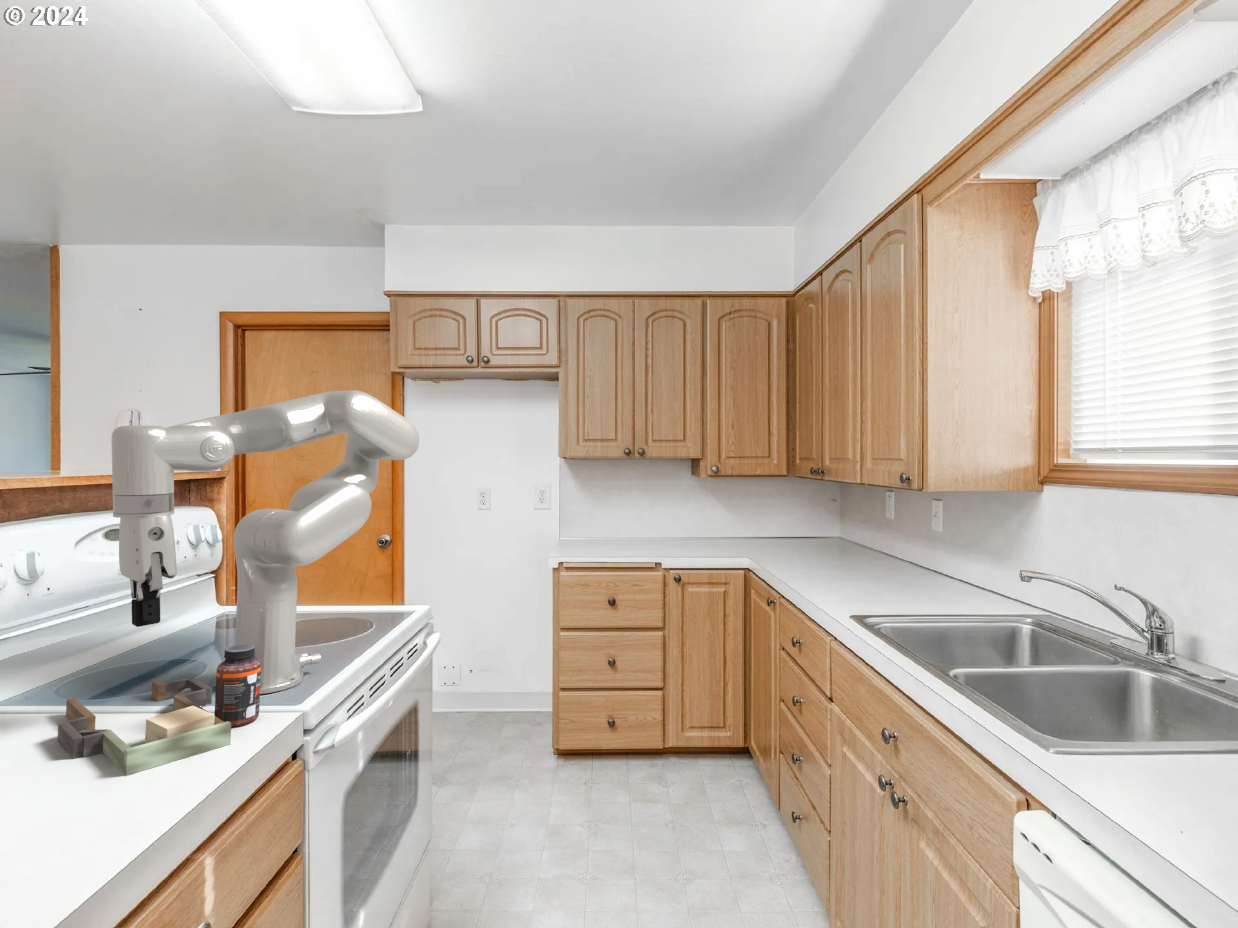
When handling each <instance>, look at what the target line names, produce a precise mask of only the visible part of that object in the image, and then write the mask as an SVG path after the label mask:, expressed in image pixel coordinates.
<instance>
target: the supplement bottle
mask: <svg viewBox="0 0 1238 928" xmlns="http://www.w3.org/2000/svg"><path fill="white" fill-rule="evenodd" d="M223 654H224V655H223V658H224V661H221V662H220V663H219V664H218V666H217V667H216V671H215V672H216V674H215V675H216V676H215V693H214V695H215V696H214V715H215V717H217V718H219V719H220V720H222V721H223V722H227V721H229V722H230V723H231V728H234V727H235V728H236V727H240V726H245V725H247V724H250V723H253V722H255V720H256V719H257V718H258V717H259V715H260V701H261V700H260V698H261V694H260V680H261V679H260V678H261V662H260V661H259V660H258V659H256V658H255V656H254V654H255V647H254V646H253V645H236V646H235V645H233V646H231V645H230V646H228V647H226V648H225V649H224V653H223Z"/></svg>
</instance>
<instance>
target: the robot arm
mask: <svg viewBox="0 0 1238 928" xmlns="http://www.w3.org/2000/svg"><path fill="white" fill-rule="evenodd" d="M340 434H341V435H343V434H345V435H347V437H346V443H345V454H344V458H343V459H342V461H341V463H339V464H338V465H337V466H335V467H333V468H332V469H331V470H329V471H328V472H326V473H324V474H323V475H321V476H319V477H317V478H316V479H314V480H312V481H310V482H309V483H307V484H306V485H303V486H302V487H301V488H299V489H298V490H297V491H296V492H295V493H294V495H293V496H292V497H291V499H290V503H289V509H288V510H287V509H279V508H260V509H256V510H253V511H251V512H249V513H247V514H245V515H244V516H243V517H242V518H241V519H240V520H239V522H238V523H237V524H236V527H235V528H234V532H233V551H234V557H235V561H236V571H237V573H236V574H237V578H236V579H237V587H236V589H237V590H236V594H237V595H236V609H235V610H236V611H235V613H236V614H235V634H234V635H235V637H234V638H235V639H234V643H235V644H234V646H236V645H253V646H254V647H255V654H254V656H255V658H256V659H258V660H259V661H260V662H261V678H260V679H261V680H260V695H264V694H265V695H266V694H271V693H277V692H279V691H283V690H288V689H291V688H293V687H295V686H298V684H300V683H301V682H302V681H303V679H304V672H303V670H302V669H304V668H305V666H313V665H317V664H319V663H321V661H322V656H321V654H320V652H316V653H315V652H314V653H311V654H307V652H303V653H296V652H295V651H296V631H297V630H296V628H297V627H296V626H297V624H296V623H297V603H298V601H297V600H298V577H297V571H296V568H295V567H302V566H307V565H310V564H313V563H314V562H316V561H318V560H320V559H321V558H323V557H324V556H325V555H326V554H328V553H330V552H331V551H332V550H334V549H335V548H336V547H338V546H339V545H341V544H342V543H343V542H345V541H347V540H348V539H349V538H351V537H352V536H353V535H355V534H356V533H357V532H359V530H360V529H362V527H364V525H365V524H366V522H367V521H368V520H369V517H370V515H371V511H372V499H371V496H370V494H372V493H373V492H374V490H375V489H376V486H377V484H378V480H379V479H378V478H379V477H378V476H379V470H380V469H379V464H380V463H379V461H381V460H383V461H402V460H403V461H404V460H406V459H408V458H409V459H410V458H411V457H413V456H414V454H415V453H416V452H417V451H418V448H419V445H420V435H419V432H418V430H417V428H416V426H415V425H414V424H413V423H412V422H411V421H410V420H409V419H407V418H406V417H404V416H403V415H402V414H400V413H399V412H397V411H395V410H394V409H393V408H391V407H389V406H388V405H387V404H385V403H384V402H383V401H380V400H379V399H377V398H376V397H374V396H372V395H371V394H369V393H368V392H367V393H366V392H365V391H362V390H357V389H353V390H333V391H331V390H330V391H325V392H319V393H316V394H312V395H306V396H303V397H297V398H295V399H294V398H293V399H290V400H284V401H281V402H275V403H272V404H270V403H269V404H268V405H261V406H257V407H252V408H248V409H244V410H240V411H236V412H231V413H225V414H220V415H216V416H210V417H207V418H202V419H196V420H193V421H189V422H183V423H180V424H175V425H171V426H168V427H165V426H161V425H120V426H117V427H116V428H114V430H113V431H112V434H111V471H112V472H111V474H112V475H111V476H112V478H111V479H112V480H111V481H112V517H113V518H118V519H119V520H120V521H119V528H118V529H119V533H118V535H119V536H118V538H119V539H118V560H119V561H118V562H119V572H120V574H121V575H122V577H125V578H128V579H129V582H130V596H131V624H132V625H133V626H135V627H136V628H137V627H138V628H139V627H145V626H151V625H155V624H159V623H160V622H161V591H162V590H163V588H164V587H163V577H164V578H167V579H171V580H172V579H174V578H175V577H176V576H177V574H178V573H177V572H178V570H177V567H178V566H177V556H176V554H177V553H176V542H175V532H174V525H173V520H172V516H173V515H174V514H175V493H174V492H175V477H174V476H175V475H174V474H175V473H174V472H175V471H178V472H179V471H181V472H182V471H185V472H196V473H197V472H199V473H207V472H213V471H214V472H215V471H216V470H220V469H223V468H224V467H225V466H227V465H228V464H229V463H230V462H231V461H232V459H233V458H234V456H236V455H242V454H252V453H267V452H268V453H271V452H277V451H283V450H287V449H291V448H294V447H298V446H300V445H303V444H307V443H310V442H315V441H317V440H322V439H324V438H328V437H331V436H335V435H340Z"/></svg>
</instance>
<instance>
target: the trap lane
mask: <svg viewBox="0 0 1238 928" xmlns="http://www.w3.org/2000/svg"><path fill="white" fill-rule="evenodd" d="M212 694H213V688H212V687H211V686H209V685H207V684H205V683H204V682H202V681H200V680H199V679H197V678H195V677H190V678H189V677H188V678H186V677H185V678H180V679H176V680H171V681H167V682H162V681H161V680H154V681H152V682H151V698H153V699H154V700H155V701H157V702H160V701H163V700H168V699H172V698H173V705H172V706H173V707H172V711H176V710H179V709H183V708H187V707H190V706H195V707H197V708H200V709H202V710H204V711H207V710H206V709H204V708H203V707H200V706H204V707H206V706H208V705H210V704H211V705H212V700H213V699H212V698H213V695H212ZM65 704H66V705H65V706H66V707H65V710H66V711H65V717H66V718H67V719H68V720H66V721H65V722H59V723H58V724H57V725H58V726H57V743H58V744H59V745H60V746H61V748H63V749H64V751H66V753H67V754H68V755H69V756H70V757H71V758H72V759H73V760H74V759H77V758H80V757H83V758H86V757H90V756H94V755H97V754H102V753H103V754H104V755H105V756H106V757H107V758H108V759H109V761H111V762H112V763H113V764H114V765H115V766H116V767H117V769H119V770H120V771H121V772H122V773H123V774H124V775H125V776H130V775H132V774H137V773H140V772H142V771H146V770H149V769H153V768H155V767H159V766H162V765H165V764H168V763H169V764H170V763H172V762H176V761H179V760H182V759H185V758H189V757H193V756H195V755H199V754H202V753H206V752H209V751H212V750H216V749H219V748H222V747H225V746H228V745H231V737H232V736H231V734H232V727H231V723H230V722H229V721H227V722H223V721H222V720H220V719H219V718H217V717H215V720H214V725H212V726H208V727H205V728H201V729H197V730H194V731H190V732H186V733H183V734H179V735H175V736H172V737H168V738H164V739H161V740H157V741H153V742H150V743H146V744H145V743H143V744H140V745H135V746H133V747H130V745H129V744H127V743H126V742H125V741H124V740H122V738H121V737H119V736H118V735H117V733H115V732H114V731H113V730H112V729H104V728H103V729H96V718H97V717H96V715H95V714H93V713H92V711H90V709H88V708H87V707H86V706H85V705H84V704H83V703H81V702H80V701H79V700H78V699H77V698H76V697H72V698H68V699H66V703H65ZM205 705H206V706H205ZM207 712H209V711H207Z"/></svg>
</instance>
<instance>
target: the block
mask: <svg viewBox="0 0 1238 928" xmlns="http://www.w3.org/2000/svg"><path fill="white" fill-rule="evenodd" d="M214 720H215V713H212V712H209V711H208V712H207V710H206V711H204V710H202V709H200V708H197V707H195V706H190V707H187V708H183V709H179V710H176V711H173V710H172V711H170V712H166V713H162V714H159V715H155V716H152V717H149V718H146V719H145V732H144V733H145V735H144V736H145V737H144V744H146V743H150V742H153V741H157V740H161V739H164V738H168V737H172V736H175V735H179V734H183V733H186V732H190V731H194V730H197V729H201V728H205V727H208V726H212V725H214Z"/></svg>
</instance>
